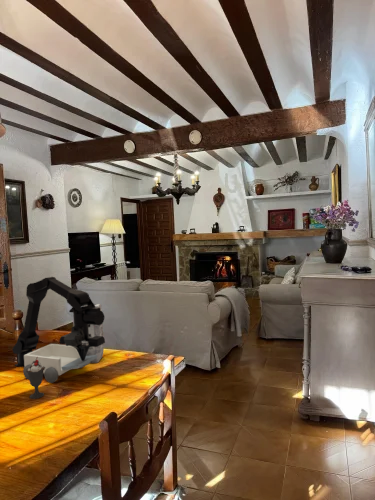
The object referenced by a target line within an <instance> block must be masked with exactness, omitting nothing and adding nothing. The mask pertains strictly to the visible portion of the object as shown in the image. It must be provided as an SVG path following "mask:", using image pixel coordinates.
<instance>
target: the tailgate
mask: <svg viewBox="0 0 375 500" xmlns="http://www.w3.org/2000/svg"><path fill="white" fill-rule="evenodd" d="M96 358H97V355H91V356H86V357H85V360H83V361H82V360H81V358H78V359H76V360H74V361H72V362H70V363H68V364H67V365H65V366H63V367H62V370H67V369H70V370H75V369H77V370H78V369H82V368H83V367H86V366H87V365H89V364H92V363H91V362H90V361H92V360H94V359H96Z"/></svg>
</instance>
